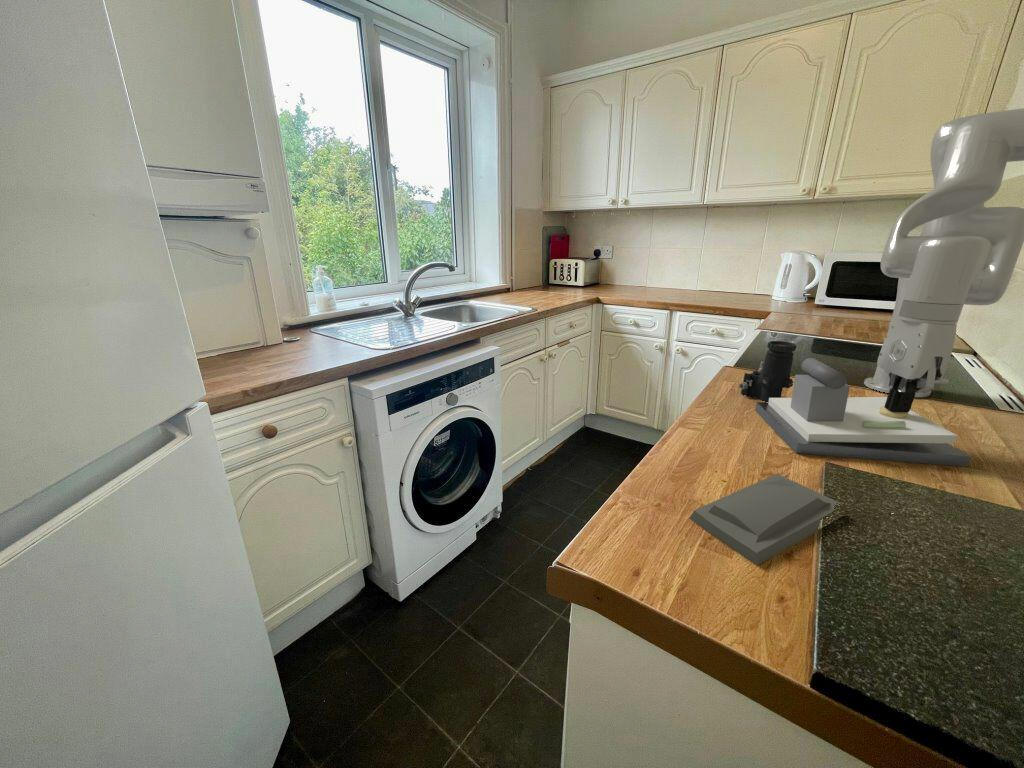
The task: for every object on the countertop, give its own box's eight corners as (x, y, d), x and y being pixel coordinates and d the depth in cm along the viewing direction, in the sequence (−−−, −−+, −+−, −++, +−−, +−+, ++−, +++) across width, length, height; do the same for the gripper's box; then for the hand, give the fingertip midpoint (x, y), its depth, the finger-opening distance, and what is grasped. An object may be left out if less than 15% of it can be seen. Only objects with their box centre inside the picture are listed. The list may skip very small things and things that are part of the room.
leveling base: (887, 418, 88) (890, 410, 87) (966, 466, 69) (970, 456, 68) (754, 410, 92) (756, 401, 91) (795, 453, 74) (798, 443, 73)
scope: (766, 336, 100) (810, 345, 92) (755, 389, 105) (796, 402, 96) (745, 340, 96) (790, 349, 88) (735, 395, 101) (776, 409, 93)
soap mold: (846, 519, 57) (853, 497, 56) (757, 570, 48) (762, 546, 47) (773, 482, 66) (777, 463, 65) (685, 520, 57) (689, 499, 56)
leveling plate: (884, 403, 86) (896, 350, 82) (954, 443, 69) (973, 378, 65) (768, 404, 90) (774, 353, 87) (807, 441, 73) (818, 380, 70)
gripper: (876, 305, 79) (850, 395, 85) (937, 318, 65) (901, 425, 71) (921, 307, 78) (891, 397, 83) (993, 320, 64) (952, 428, 70)
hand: (896, 410), depth 77 cm, fingers closed
